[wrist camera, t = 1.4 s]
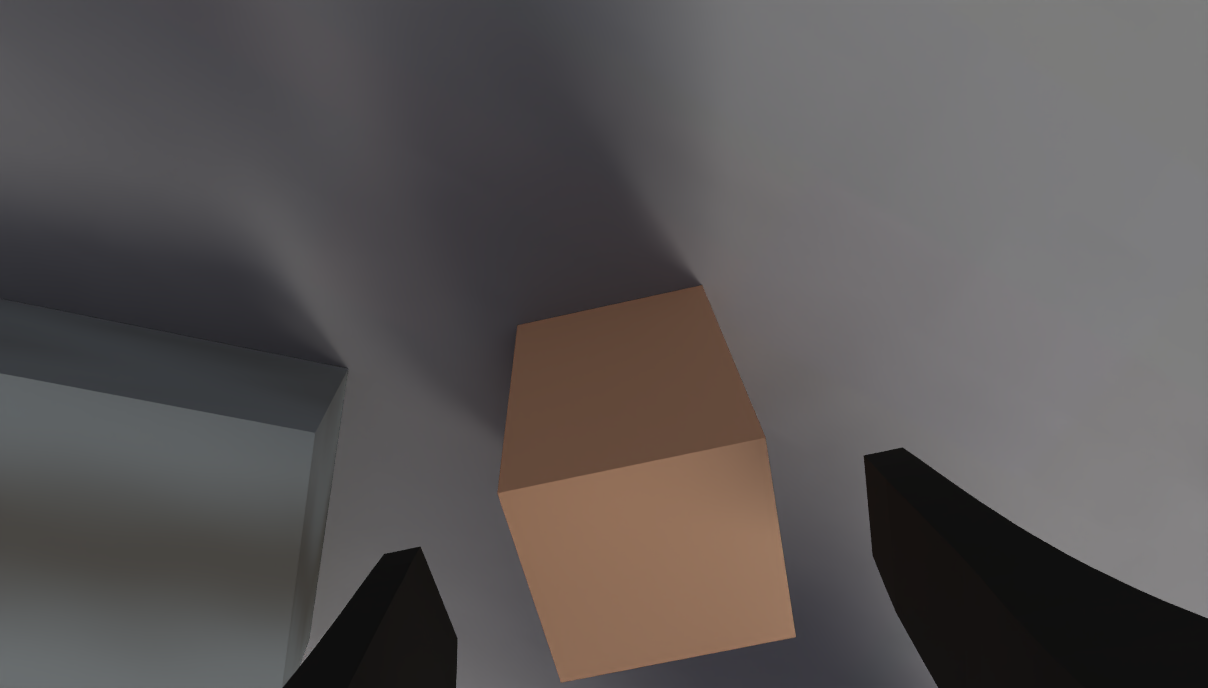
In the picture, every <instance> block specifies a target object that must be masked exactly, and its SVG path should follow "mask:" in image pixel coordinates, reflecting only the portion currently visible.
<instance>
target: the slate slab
mask: <svg viewBox="0 0 1208 688" xmlns="http://www.w3.org/2000/svg"><path fill="white" fill-rule="evenodd" d="M347 374H348V368H343V367H338V366H333V365H328V364H323V363H318V362H313V361H308V360H303V359H298V358H293V357H288V356H283V355H278V354H273V353H268V352H263V351H258V350H253V349H248V348H244V347H239V346H234V345H229V344H224V343H219V342H214V341H209V340H204V339H199V338H194V337H189V336H184V335H179V334H174V333H169V332H164V331H159V330H154V329H149V328H144V327H139V326H134V325H129V324H124V323H119V322H114V321H109V320H104V319H99V318H94V317H90V316H85V315H80V314H75V313H70V312H65V311H60V310H55V309H50V308H45V307H40V306H35V305H30V304H25V303H20V302H15V301H10V300H5V299H0V688H283V686H284V685H285V684H286V683H287V681H288V680H289V679H290V678H291V677H292V675H293V674H294V673H295V672H296V671H297V669H298V668H299V666H300V663H301V660H302V657H303V655H304V652H305V649H306V647H307V644H308V641H309V638H310V631H311V624H312V617H313V610H314V603H315V596H316V589H317V582H318V575H319V568H320V561H321V555H322V548H323V541H324V534H325V527H326V520H327V513H328V506H329V499H330V492H331V485H332V478H333V471H334V464H335V457H336V450H337V444H338V437H339V430H340V423H341V416H342V409H343V402H344V395H345V388H346V381H347Z"/></svg>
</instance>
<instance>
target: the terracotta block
mask: <svg viewBox="0 0 1208 688" xmlns="http://www.w3.org/2000/svg"><path fill="white" fill-rule="evenodd" d="M498 496H499V499H500V502H501V505H502V508H503V511H504V514H505V517H506V520H507V523H508V526H509V529H510V532H511V535H512V538H513V541H514V544H515V547H516V550H517V553H518V556H519V559H520V562H521V565H522V568H523V571H524V574H525V577H526V580H527V583H528V586H529V589H530V592H531V595H532V598H533V601H534V604H535V607H536V610H537V612H538V615H539V618H540V621H541V624H542V627H543V630H544V633H545V636H546V639H547V642H548V645H549V648H550V651H551V654H552V657H553V660H554V663H555V666H556V669H557V672H558V675H559V678H560V681H561V683H562V682H567V681H572V680H578V679H583V678H588V677H593V676H598V675H603V674H609V673H614V672H619V671H624V670H629V669H634V668H639V667H645V666H650V665H655V664H660V663H665V662H670V661H676V660H681V659H686V658H691V657H696V656H701V655H707V654H712V653H717V652H722V651H727V650H732V649H737V648H743V647H748V646H753V645H758V644H763V643H768V642H774V641H779V640H784V639H789V638H794V637H796V634H795V628H794V621H793V614H792V608H791V601H790V595H789V588H788V582H787V575H786V569H785V562H784V555H783V549H782V542H781V536H780V529H779V523H778V516H777V510H776V503H775V496H774V490H773V483H772V477H771V470H770V464H769V457H768V451H767V444H766V438H765V435H764V433H763V430H762V428H761V426H760V423H759V421H758V418H757V416H756V414H755V411H754V409H753V406H752V404H751V402H750V399H749V397H748V394H747V392H746V390H745V387H744V385H743V382H742V380H741V378H740V375H739V373H738V370H737V368H736V366H735V363H734V361H733V358H732V356H731V354H730V351H729V349H728V346H727V344H726V342H725V339H724V337H723V334H722V332H721V329H720V327H719V325H718V322H717V320H716V317H715V315H714V313H713V310H712V308H711V305H710V303H709V301H708V298H707V296H706V293H705V291H704V289H703V286H702V285H700V286H696V287H691V288H686V289H682V290H677V291H673V292H668V293H663V294H659V295H654V296H650V297H645V298H640V299H636V300H631V301H627V302H622V303H618V304H613V305H608V306H604V307H599V308H595V309H590V310H585V311H581V312H576V313H572V314H567V315H562V316H558V317H553V318H549V319H544V320H539V321H535V322H530V323H526V324H521V325H517V333H516V342H515V350H514V358H513V367H512V375H511V384H510V392H509V400H508V409H507V417H506V426H505V434H504V442H503V451H502V459H501V468H500V476H499V484H498Z"/></svg>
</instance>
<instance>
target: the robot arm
mask: <svg viewBox="0 0 1208 688" xmlns="http://www.w3.org/2000/svg"><path fill="white" fill-rule="evenodd" d="M864 463H865V475H866V486H867V497H868V508H869V519H870V530H871V542H872V553H873V557H874V560H875V562H876V565H877V567H878V570H879V572H880V575H881V577H882V580H883V582H884V585H885V587H886V590H887V592H888V594H889V597H890V599H891V601H892V604H893V606H894V608H895V611H896V613H897V615H898V617H899V619H900V620H901V622H902V624H903V626H904V628H905V629H906V631H907V633H908V635H909V637H910V638H911V640H912V642H913V644H914V646H915V647H916V649H917V651H918V653H919V654H920V656H921V658H922V660H923V662H924V663H925V665H926V667H927V669H928V670H929V672H930V674H931V676H932V677H933V679H934V681H935V683H936V684H937V686H938V688H1208V618H1205V617H1203V616H1200V615H1198V614H1195V613H1193V612H1190V611H1188V610H1185V609H1183V608H1180V607H1178V606H1175V605H1173V604H1170V603H1168V602H1165V601H1163V600H1161V599H1158V598H1156V597H1154V596H1152V595H1149V594H1147V593H1145V592H1142V591H1140V590H1138V589H1136V588H1134V587H1131V586H1129V585H1127V584H1125V583H1123V582H1121V581H1119V580H1117V579H1115V578H1113V577H1111V576H1109V575H1107V574H1105V573H1102V572H1100V571H1098V570H1096V569H1094V568H1092V567H1090V566H1088V565H1086V564H1084V563H1082V562H1080V561H1079V560H1077V559H1075V558H1073V557H1071V556H1069V555H1067V554H1065V553H1064V552H1062V551H1060V550H1058V549H1057V548H1055V547H1053V546H1051V545H1050V544H1048V543H1046V542H1044V541H1043V540H1041V539H1039V538H1037V537H1036V536H1034V535H1032V534H1030V533H1029V532H1027V531H1025V530H1024V529H1022V528H1020V527H1019V526H1017V525H1015V524H1014V523H1012V522H1011V521H1009V520H1008V519H1006V518H1005V517H1003V516H1002V515H1000V514H998V513H997V512H995V511H994V510H992V509H991V508H989V507H988V506H986V505H985V504H983V503H981V502H980V501H978V500H977V499H976V498H974V497H973V496H971V495H970V494H968V493H967V492H965V491H964V490H962V489H961V488H959V487H958V486H957V485H955V484H954V483H952V482H951V481H949V480H948V479H947V478H945V477H944V476H942V475H941V474H940V473H938V472H937V471H935V470H934V469H932V468H931V467H930V466H928V465H927V464H925V463H924V462H923V461H921V460H920V459H918V458H917V457H916V456H914V455H913V454H911V453H910V452H908V451H907V450H905V449H904V448H898V449H893V450H889V451H884V452H879V453H874V454H869V455H864ZM456 674H457V636H456V634H455V631H454V629H453V626H452V624H451V621H450V619H449V616H448V614H447V611H446V609H445V606H444V604H443V601H442V599H441V596H440V594H439V591H438V589H437V586H436V584H435V581H434V579H433V576H432V574H431V571H430V569H429V566H428V564H427V561H426V559H425V557H424V554H423V552H422V549H421V547H416V548H411V549H407V550H402V551H397V552H392V553H387V554H384V555H383V556H382V558H381V559H380V560H379V562H378V563H377V564H376V566H375V567H374V568H373V570H372V571H371V572H370V574H369V575H368V576H367V578H366V579H365V580H364V582H363V583H362V585H361V586H360V587H359V589H358V590H357V592H356V593H355V594H354V596H353V597H352V598H351V600H350V601H349V603H348V604H347V605H346V607H345V608H344V609H343V611H342V612H341V614H340V615H339V616H338V618H337V619H336V620H335V622H334V623H333V624H332V626H331V627H330V628H329V630H328V631H327V632H326V634H325V635H324V636H323V638H322V639H321V640H320V642H319V643H318V644H317V646H316V647H315V648H314V650H313V651H312V652H311V653H310V655H309V656H308V657H307V658H306V660H305V661H304V662H303V663H302V664H301V666H300V667H299V668H298V669H297V671H296V672H295V673H294V674H293V675H292V677H291V678H290V679H289V680H288V681H287V683H286V684H285V685H284V686H283V688H456Z"/></svg>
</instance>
